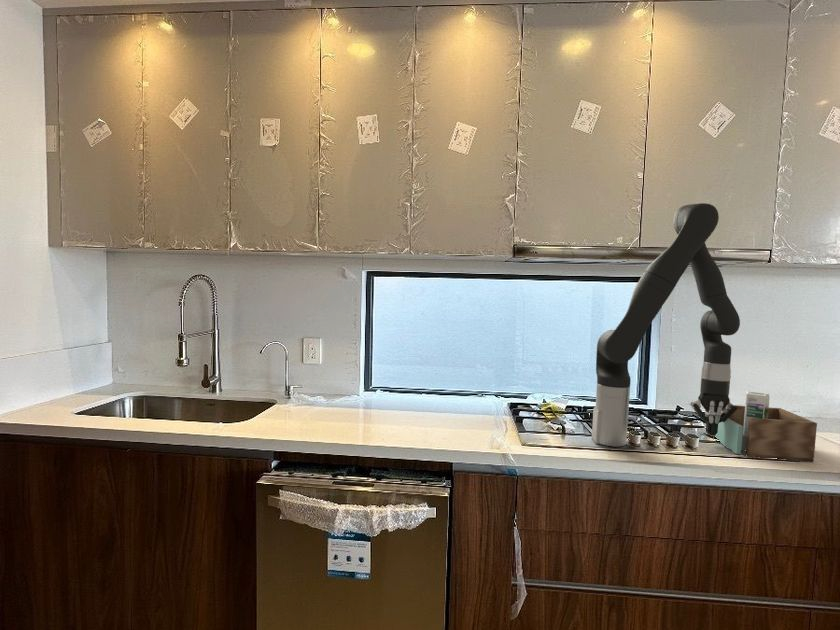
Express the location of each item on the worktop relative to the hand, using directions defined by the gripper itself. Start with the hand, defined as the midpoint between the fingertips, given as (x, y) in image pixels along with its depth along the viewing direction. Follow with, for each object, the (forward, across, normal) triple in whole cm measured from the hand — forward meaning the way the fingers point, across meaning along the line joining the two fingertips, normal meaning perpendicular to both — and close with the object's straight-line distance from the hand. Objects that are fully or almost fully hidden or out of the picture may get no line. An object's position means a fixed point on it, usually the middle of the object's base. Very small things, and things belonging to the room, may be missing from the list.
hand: (711, 434), depth 160 cm
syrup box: (+1, -12, +1) cm, 12 cm away
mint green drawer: (+3, -10, +1) cm, 11 cm away
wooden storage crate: (+3, -14, +1) cm, 15 cm away
